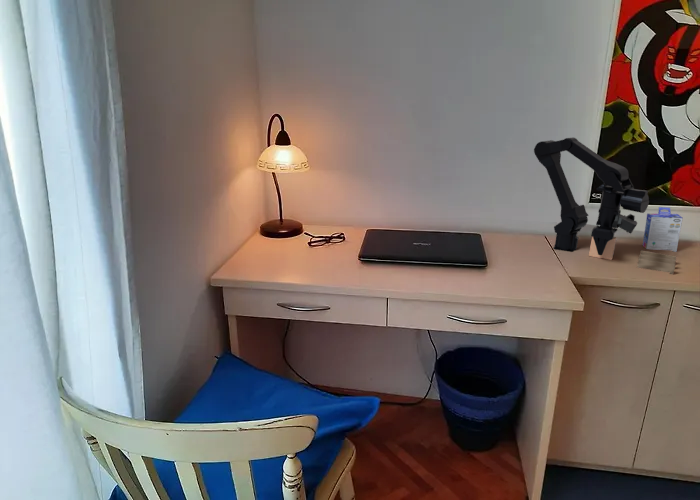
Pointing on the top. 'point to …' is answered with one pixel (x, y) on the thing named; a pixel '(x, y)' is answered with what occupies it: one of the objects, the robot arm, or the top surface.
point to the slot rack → (656, 261)
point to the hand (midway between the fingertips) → (601, 252)
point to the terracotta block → (607, 251)
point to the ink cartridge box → (662, 230)
